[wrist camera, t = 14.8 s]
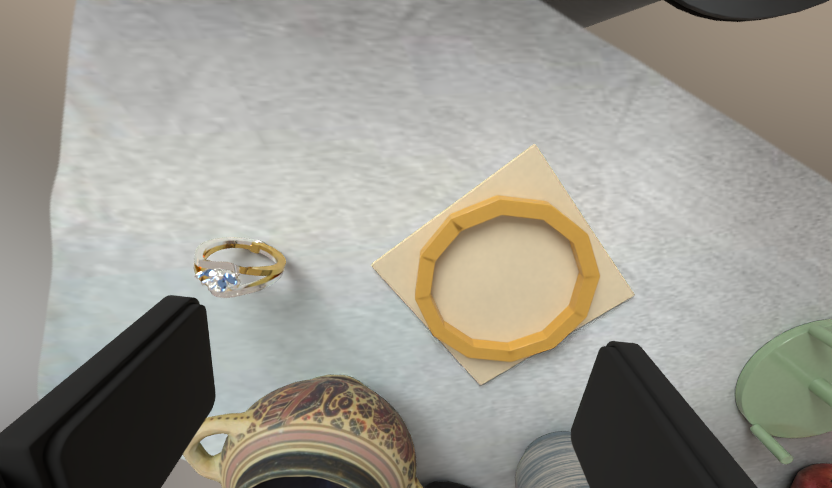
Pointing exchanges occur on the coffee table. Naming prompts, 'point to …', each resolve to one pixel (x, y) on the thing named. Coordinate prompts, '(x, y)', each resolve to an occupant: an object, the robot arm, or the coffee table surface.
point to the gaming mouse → (444, 485)
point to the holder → (789, 387)
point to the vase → (550, 464)
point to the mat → (504, 266)
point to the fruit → (814, 477)
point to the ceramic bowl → (310, 440)
